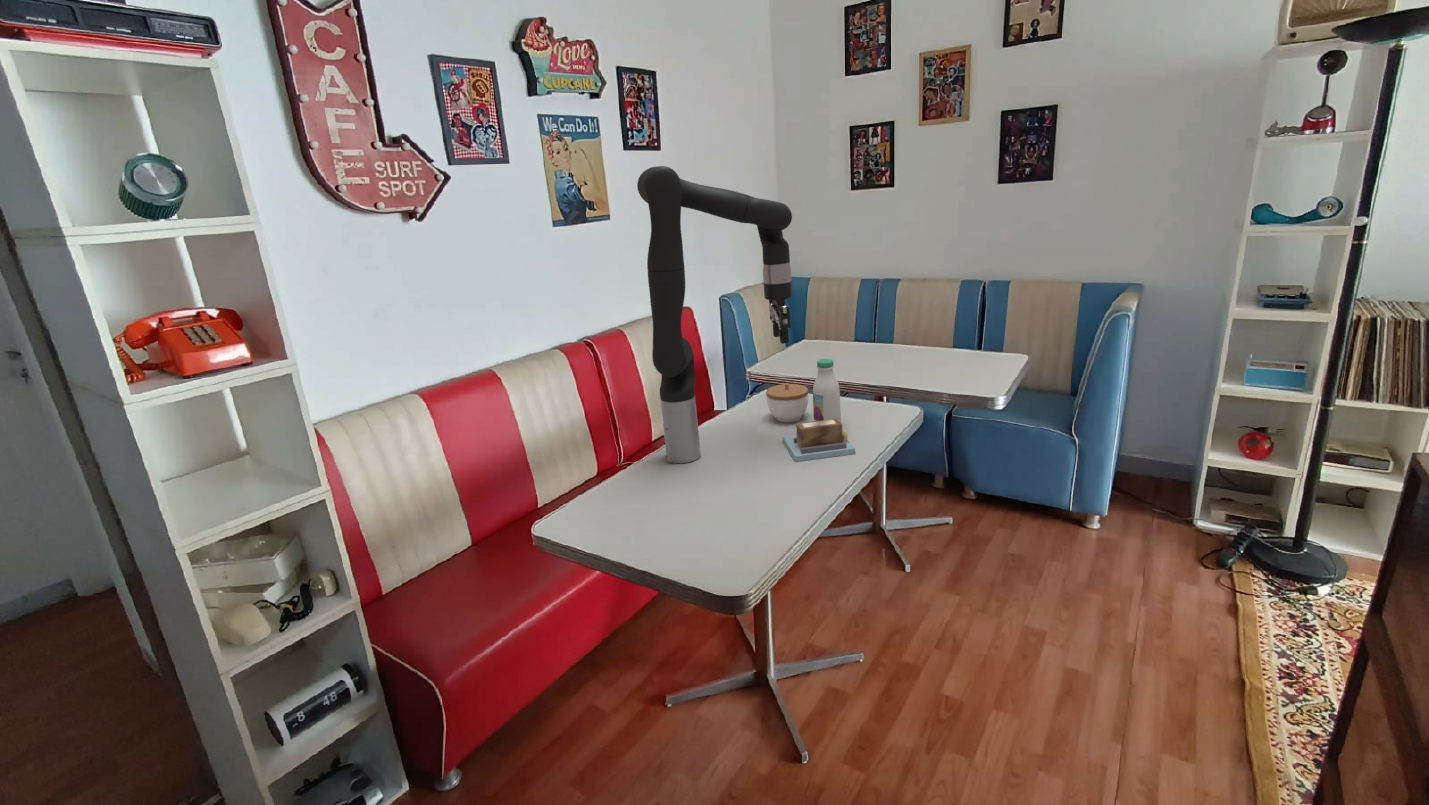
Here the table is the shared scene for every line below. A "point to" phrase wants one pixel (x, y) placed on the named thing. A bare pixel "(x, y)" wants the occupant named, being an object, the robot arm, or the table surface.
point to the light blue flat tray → (818, 449)
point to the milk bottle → (826, 392)
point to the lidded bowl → (787, 401)
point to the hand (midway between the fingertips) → (780, 339)
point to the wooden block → (819, 433)
